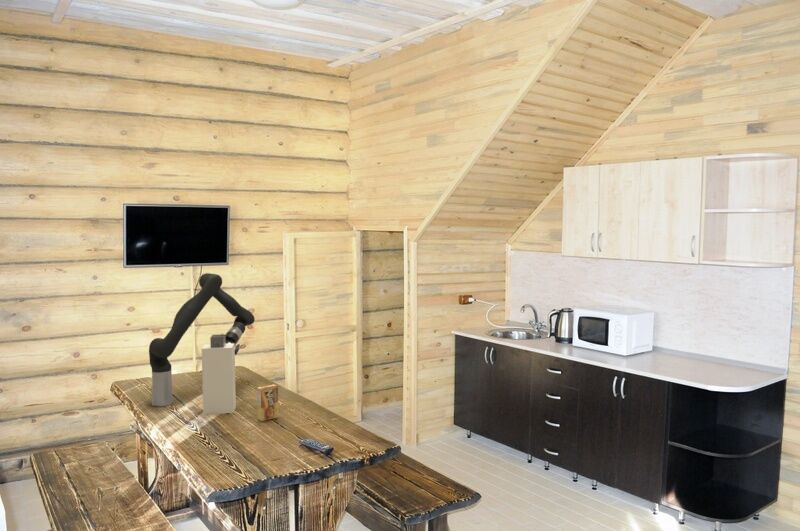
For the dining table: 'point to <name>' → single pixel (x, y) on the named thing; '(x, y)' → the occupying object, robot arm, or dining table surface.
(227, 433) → the dining table surface
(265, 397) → the candy box
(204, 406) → the tall beige cuboid
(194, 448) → the dining table surface
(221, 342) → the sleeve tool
